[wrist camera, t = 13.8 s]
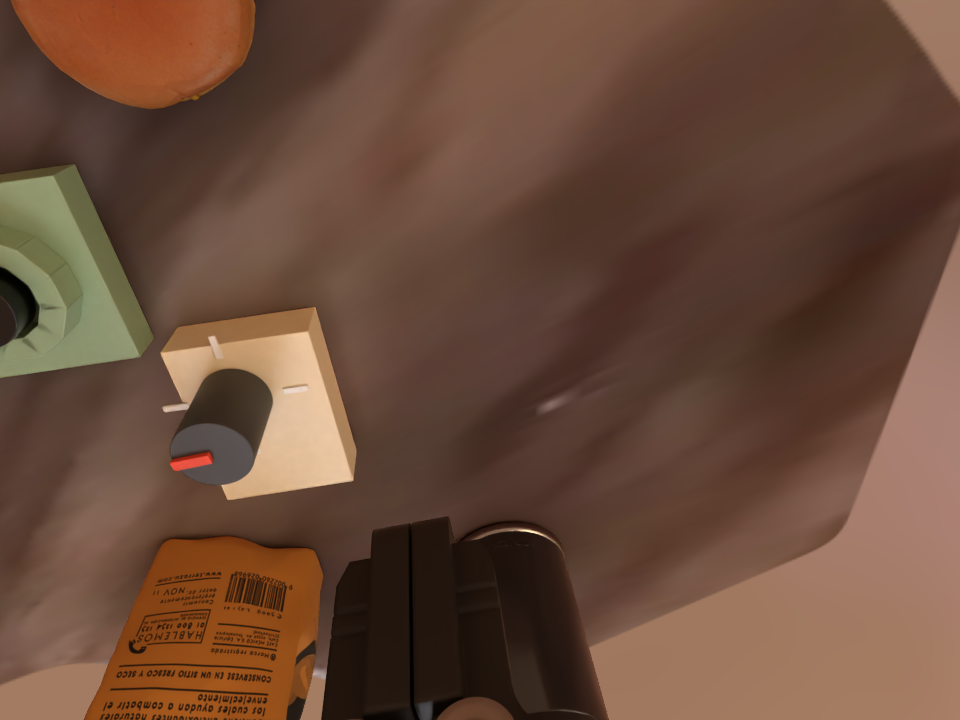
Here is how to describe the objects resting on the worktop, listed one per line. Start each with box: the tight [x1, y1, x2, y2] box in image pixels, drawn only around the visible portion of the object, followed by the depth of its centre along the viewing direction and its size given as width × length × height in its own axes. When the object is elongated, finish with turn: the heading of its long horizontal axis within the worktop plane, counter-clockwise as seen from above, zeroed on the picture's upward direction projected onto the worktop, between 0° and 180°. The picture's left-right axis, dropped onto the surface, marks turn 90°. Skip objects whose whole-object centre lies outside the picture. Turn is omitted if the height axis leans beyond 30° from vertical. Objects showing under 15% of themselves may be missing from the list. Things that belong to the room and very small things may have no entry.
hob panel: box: [160, 307, 356, 500], centre depth 37 cm, size 12×9×3 cm
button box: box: [0, 164, 154, 378], centre depth 31 cm, size 10×9×4 cm
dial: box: [170, 369, 273, 485], centre depth 32 cm, size 4×4×5 cm
